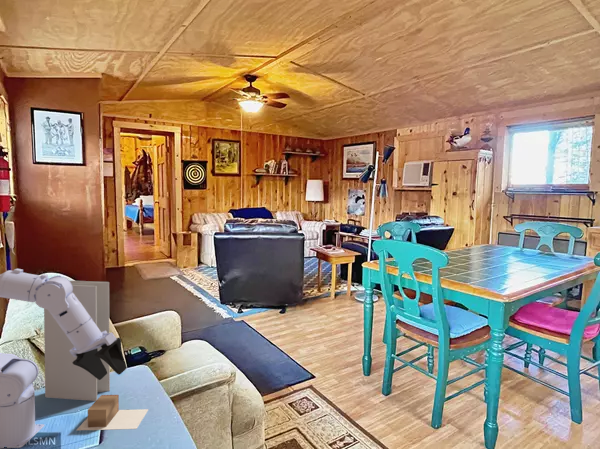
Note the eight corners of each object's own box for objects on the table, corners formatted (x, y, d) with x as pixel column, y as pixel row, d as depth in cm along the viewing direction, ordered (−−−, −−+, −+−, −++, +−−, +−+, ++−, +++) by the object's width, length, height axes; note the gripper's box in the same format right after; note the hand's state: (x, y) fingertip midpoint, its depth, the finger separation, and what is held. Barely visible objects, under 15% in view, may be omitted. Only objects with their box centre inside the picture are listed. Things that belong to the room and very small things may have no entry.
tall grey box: (110, 392, 100) (109, 282, 98) (96, 402, 94) (95, 286, 93) (61, 388, 101) (59, 280, 100) (45, 399, 95) (43, 284, 94)
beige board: (76, 432, 82) (76, 430, 82) (93, 412, 90) (93, 410, 90) (136, 430, 82) (136, 428, 82) (148, 411, 90) (148, 409, 90)
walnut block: (106, 426, 83) (106, 409, 83) (87, 427, 83) (87, 409, 83) (118, 410, 90) (118, 394, 89) (101, 411, 89) (101, 395, 89)
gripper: (111, 307, 82) (144, 356, 85) (76, 322, 89) (108, 367, 91) (84, 326, 76) (121, 378, 78) (49, 341, 83) (84, 388, 85)
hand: (112, 374), depth 84 cm, fingers open, 7 cm apart
